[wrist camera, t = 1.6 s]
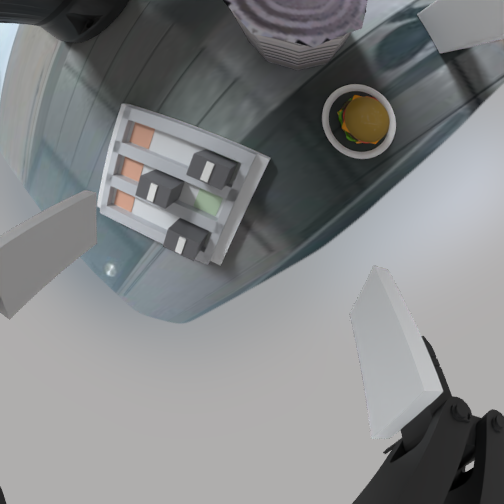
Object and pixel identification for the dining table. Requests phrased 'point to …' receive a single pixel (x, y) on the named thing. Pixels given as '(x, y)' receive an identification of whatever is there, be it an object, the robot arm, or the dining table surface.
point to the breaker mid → (159, 188)
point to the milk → (463, 23)
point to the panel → (176, 164)
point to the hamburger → (361, 120)
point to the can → (298, 28)
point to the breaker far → (185, 238)
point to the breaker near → (211, 168)
